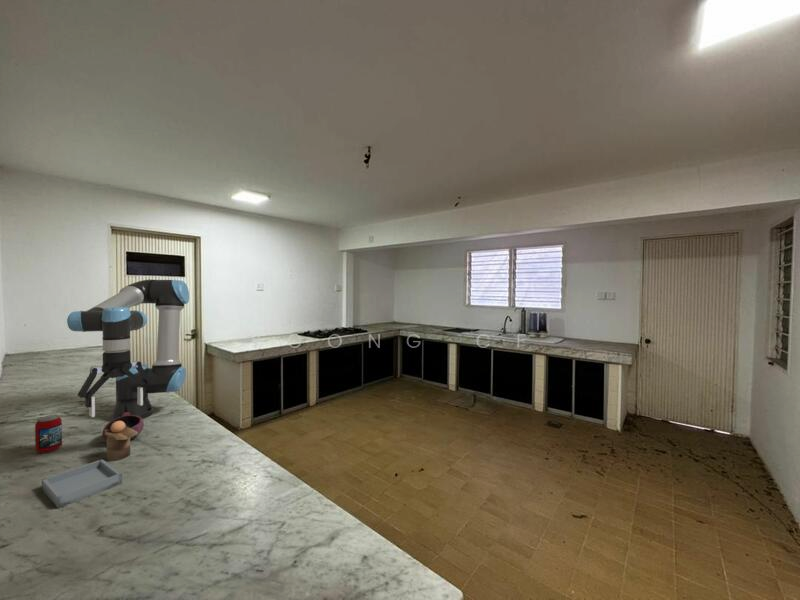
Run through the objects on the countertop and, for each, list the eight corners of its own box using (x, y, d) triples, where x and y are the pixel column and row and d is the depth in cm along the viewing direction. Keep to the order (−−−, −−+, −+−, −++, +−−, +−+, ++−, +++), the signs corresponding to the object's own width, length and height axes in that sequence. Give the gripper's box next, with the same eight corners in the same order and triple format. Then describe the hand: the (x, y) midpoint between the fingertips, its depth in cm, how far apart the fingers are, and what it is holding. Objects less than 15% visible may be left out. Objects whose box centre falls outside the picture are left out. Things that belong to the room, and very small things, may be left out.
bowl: (150, 437, 134) (150, 417, 133) (111, 450, 122) (111, 429, 122) (130, 428, 141) (130, 410, 141) (91, 440, 130) (91, 420, 130)
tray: (102, 468, 110) (102, 459, 110) (121, 483, 102) (121, 473, 102) (41, 489, 99) (41, 479, 99) (58, 508, 90) (58, 497, 90)
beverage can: (44, 455, 118) (44, 422, 118) (30, 453, 120) (29, 420, 119) (67, 446, 125) (66, 415, 125) (53, 444, 126) (52, 413, 126)
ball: (122, 429, 121) (122, 418, 121) (127, 431, 119) (126, 419, 119) (109, 433, 117) (108, 422, 118) (113, 435, 115) (112, 423, 115)
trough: (126, 450, 123) (126, 424, 122) (138, 458, 117) (138, 431, 117) (103, 457, 117) (103, 430, 117) (115, 466, 112) (115, 438, 111)
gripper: (153, 345, 130) (153, 398, 130) (64, 355, 108) (65, 419, 109) (161, 347, 126) (162, 402, 126) (71, 357, 104) (72, 424, 105)
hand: (117, 410), depth 118 cm, fingers open, 13 cm apart
